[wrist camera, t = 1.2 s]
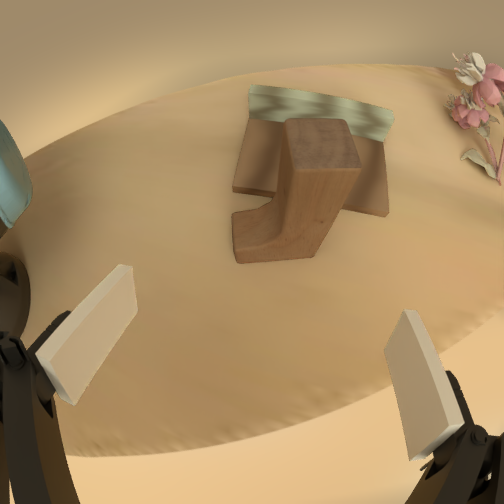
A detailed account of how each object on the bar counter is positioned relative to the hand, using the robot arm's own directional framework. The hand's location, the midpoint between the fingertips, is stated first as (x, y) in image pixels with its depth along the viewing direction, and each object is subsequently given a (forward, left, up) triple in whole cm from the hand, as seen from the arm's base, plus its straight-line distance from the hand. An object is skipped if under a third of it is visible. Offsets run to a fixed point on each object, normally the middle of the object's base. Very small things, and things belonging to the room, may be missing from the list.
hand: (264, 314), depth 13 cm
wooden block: (0, +10, -19) cm, 21 cm away
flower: (+34, +38, -19) cm, 55 cm away
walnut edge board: (+4, +23, -18) cm, 30 cm away
